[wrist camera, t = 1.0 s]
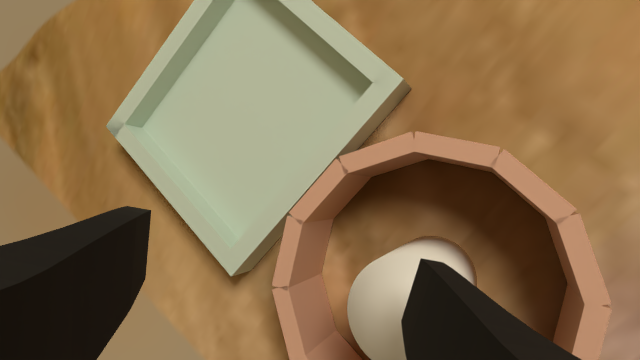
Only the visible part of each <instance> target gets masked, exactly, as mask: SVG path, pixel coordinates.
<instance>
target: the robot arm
mask: <svg viewBox="0 0 640 360" xmlns="http://www.w3.org/2000/svg"><path fill="white" fill-rule="evenodd" d="M150 217H151V210H146V209H141V208H135V207H129V206H126V207H121V208H117V209H114V210H111V211H108V212H105V213H102V214H100V215H97V216H94V217H91V218H88V219H86V220H83V221H80V222H77V223H74V224H72V225H69V226H66V227H63V228H60V229H56V230H53V231H50V232H47V233H44V234H41V235H37V236H34V237H31V238H28V239H24V240H21V241H17V242H13V243H9V244H6V245H2V246H0V360H97V358H98V357H99V355H100V354H101V352H102V351H103V349H104V348H105V346H106V345H107V343H108V342H109V340H110V339H111V337H112V336H113V335H114V333H115V332H116V330H117V329H118V327H119V326H120V324H121V323H122V321H123V320H124V318H125V317H126V315H127V314H128V312H129V311H130V309H131V307H132V305H133V303H134V301H135V299H136V297H137V295H138V293H139V291H140V289H141V287H142V284H143V282H144V280H145V276H146V264H147V252H148V241H149V229H150ZM401 325H402V334H403V342H404V348H405V355H406V359H407V360H582V359H580V358H578V357H576V356H575V355H573V354H571V353H569V352H568V351H566V350H564V349H563V348H561V347H559V346H558V345H556V344H555V343H553V342H551V341H550V340H548V339H547V338H545V337H543V336H542V335H540V334H539V333H537V332H536V331H534V330H533V329H531V328H530V327H528V326H527V325H526V324H524V323H523V322H521V321H520V320H519V319H517V318H516V317H514V316H513V315H512V314H510V313H509V312H508V311H506V310H505V309H504V308H502V307H501V306H500V305H498V304H497V303H496V302H495V301H493V300H492V299H491V298H489V297H488V296H487V295H486V294H484V293H483V292H482V291H481V290H479V289H478V288H477V287H476V286H474V285H473V284H472V283H471V282H469V281H468V280H467V279H466V278H464V277H463V276H462V275H461V274H459V273H458V272H457V271H455V270H454V269H453V268H451V267H450V266H448V265H447V264H445V263H443V262H439V261H433V260H428V259H422V258H421V259H420V262H419V265H418V269H417V272H416V275H415V278H414V281H413V285H412V288H411V291H410V294H409V297H408V301H407V304H406V307H405V310H404V313H403V317H402V320H401Z"/></svg>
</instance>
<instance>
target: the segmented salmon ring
mask: <svg viewBox="0 0 640 360" xmlns="http://www.w3.org/2000/svg"><path fill="white" fill-rule="evenodd" d="M339 158H340V160H339V159H335V160H334V161H333V163H332V164H331V165H330V166H329V167H328V168H327V169H326V171H325V172H324V173H323V174H322V175H321V176H320V177H319V179H318V180H317V181H316V182H315V183H314V184H313V185H312V187H311V188H310V189H309V190H308V191H307V192H306V193H305V195H304V196H303V197H302V198H301V199H300V200H299V202H298V203H297V204H296V205H295V206H294V207H293V208H292V210H291V211H290V212H289V213H290V214H291V216H287V219H286V224H285V228H284V233H283V237H282V242H281V246H280V251H279V255H278V260H277V264H276V269H275V273H274V278H273V282H272V286H275V287H276V288H274V289H272V292H273V296H274V300H275V304H276V308H277V312H278V316H279V320H280V324H281V327H282V331H283V335H284V339H285V343H286V347H287V351H288V355H289V359H290V360H362V358H361V357H360V356H359V355H358V354H357V353H356V352H355V350H354V349H353V348H352V347H351V346H350V345H349V344H348V343H347V341H346V340H345V339H344V338H343V337H342V336H341V335H340V333H339V332H338V331H337V330H336V327H335V323H334V319H333V316H332V312H331V308H330V304H329V301H328V297H327V293H326V290H325V286H324V282H323V278H322V275H321V272H322V268H323V263H324V259H325V254H326V250H327V246H328V241H329V237H330V232H331V228H332V224H333V219H334V218H335V217H336V216H337V215H338V213H339V212H340V211H341V210H342V209H343V208H344V207H345V206H346V205H347V204H348V202H349V201H350V200H351V199H352V198H353V197H354V196H355V195H356V194H357V193H358V191H359V190H360V189H361V188H362V187H363V186H364V185H365V184H366V183H367V182H368V180H369V179H370V178H371V177H373V176H377V175H380V174H383V173H386V172H389V171H392V170H395V169H399V168H402V167H405V166H408V165H411V164H414V163H417V162H421V161H424V160H427V159H431V160H436V161H441V162H446V163H450V164H455V165H460V166H465V167H470V168H475V169H479V170H484V171H489V172H493V173H494V174H495V175H496V176H497V177H499V178H500V179H501V180H502V181H503V182H504V183H506V184H507V185H508V186H509V187H510V188H511V189H512V190H514V191H515V192H516V193H517V194H518V195H519V196H521V197H522V198H523V199H524V200H525V201H526V202H528V203H529V204H530V205H531V206H532V207H533V208H535V209H536V210H537V211H538V212H539V213H540V214H542V215H543V216H544V217H545V219H546V222H547V225H548V228H549V230H550V233H551V236H552V239H553V242H554V245H555V248H556V251H557V254H558V257H559V260H560V263H561V266H562V268H563V271H564V274H565V277H566V280H567V283H568V285H567V289H566V292H565V296H564V300H563V304H562V308H561V312H560V316H559V320H558V323H557V327H556V331H555V335H554V339H553V343H555V344H556V345H558V346H559V347H561V348H563V349H564V350H566V351H568V352H569V353H571V354H573V355H575V356H576V357H578V358H580V359H582V360H599V356H600V352H601V348H602V345H603V341H604V337H605V333H606V329H607V326H608V322H609V318H610V314H611V310H612V309H611V308H610V307H609V306H608V304H611V301H610V298H609V295H608V292H607V289H606V287H605V284H604V281H603V278H602V275H601V272H600V270H599V267H598V264H597V261H596V258H595V255H594V253H593V250H592V247H591V244H590V241H589V238H588V236H587V233H586V230H585V227H584V224H583V221H582V219H581V216H580V213H576V212H574V211H575V210H576V208H575V207H573V206H572V205H571V204H570V203H569V202H567V201H566V200H565V199H564V198H563V197H561V196H560V195H559V194H558V193H557V192H555V191H554V190H553V189H552V188H551V187H549V186H548V185H547V184H546V183H545V182H543V181H542V180H541V179H540V178H539V177H537V176H536V175H535V174H534V173H533V172H531V171H530V170H529V169H528V168H527V167H525V166H524V165H523V164H522V163H521V162H519V161H518V160H517V159H516V158H515V157H513V156H512V155H511V154H510V153H509V152H507V151H506V150H505V149H504V150H503V151H502V152H501V153H500V147H498V146H492V145H487V144H481V143H476V142H471V141H465V140H460V139H455V138H449V137H444V136H439V135H433V134H428V133H423V132H417V131H416V133H415V134H414V133H413V132H409V133H406V134H403V135H400V136H397V137H394V138H392V139H389V140H386V141H383V142H380V143H377V144H374V145H371V146H368V147H365V148H362V149H360V150H357V151H354V152H351V153H348V154H345V155H342V156H339Z"/></svg>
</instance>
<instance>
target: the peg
mask: <svg viewBox="0 0 640 360" xmlns="http://www.w3.org/2000/svg"><path fill="white" fill-rule="evenodd" d="M421 258H422V259H428V260H433V261H439V262H443V263H445V264H447V265H448V266H450V267H451V268H453V269H454V270H455V271H457V272H458V273H459V274H461V275H462V276H463V277H464V278H466V279H467V280H468V281H469V282H471V283H472V284H473V285H474V286H476V287H477V276H476V271H475V267H474V265H473V262H472V261H471V259H470V257H469V256H468V254H467V253H466V252H465V251H464V250H463V249H462V248H461V247H460V246H459V245H457V244H456V243H454V242H452V241H450V240H448V239H446V238H443V237H438V236H424V237H419V238H416V239H414V240H412V241H410V242H408V243H406V244H404V245H403V246H401V247H399V248H397V249H395V250H393V251H391V252H390V253H388V254H386V255H384V256H382V257H380V258H378V259H377V260H375V261H373V262H372V263H370V264H369V265H367V266H366V267H365V268H364V269H363V270H362V271H361V272H360V273H359V275H358V276H357V277H356V279H355V281H354V282H353V285H352V287H351V290H350V293H349V297H348V305H347V312H348V320H349V325H350V328H351V331H352V334H353V336H354V338H355V340H356V342H357V343H358V345H359V347H360V348H361V349H362V350H363V352H364V353H365V354H366V355H367V356H368V357H369V358H370V359H371V360H407V359H406V355H405V348H404V342H403V334H402V325H401V320H402V317H403V313H404V310H405V307H406V304H407V301H408V297H409V294H410V291H411V288H412V285H413V281H414V278H415V275H416V272H417V269H418V265H419V262H420V259H421Z"/></svg>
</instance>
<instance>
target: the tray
mask: <svg viewBox="0 0 640 360" xmlns="http://www.w3.org/2000/svg"><path fill="white" fill-rule="evenodd" d="M410 90H411V87H410V86H409V85H408V84H407V82H406V81H405V80H404V79H403V78H402V77H401V76H400V75H398V74H397V73H396V72H395V71H394V70H393V69H391V68H390V67H389V66H388V65H387V64H385V63H384V62H383V61H382V60H381V59H380V58H378V57H377V56H376V55H375V54H374V53H372V52H371V51H370V50H369V49H368V48H367V47H365V46H364V45H363V44H362V43H361V42H359V41H358V40H357V39H356V38H355V37H353V36H352V35H351V34H350V33H349V32H348V31H346V30H345V29H344V28H343V27H342V26H340V25H339V24H338V23H337V22H336V21H335V20H333V19H332V18H331V17H330V16H329V15H327V14H326V13H325V12H324V11H323V10H322V9H320V8H319V7H318V6H317V5H316V4H314V3H313V2H312V1H311V0H194V2H193V3H192V4H191V6H190V7H189V9H188V10H187V11H186V13H185V14H184V16H183V17H182V19H181V20H180V21H179V23H178V24H177V26H176V27H175V29H174V30H173V31H172V33H171V34H170V36H169V37H168V39H167V40H166V41H165V43H164V44H163V46H162V47H161V49H160V50H159V51H158V53H157V54H156V56H155V57H154V59H153V60H152V61H151V63H150V64H149V66H148V67H147V68H146V70H145V71H144V73H143V74H142V76H141V77H140V78H139V80H138V81H137V83H136V84H135V86H134V87H133V88H132V90H131V91H130V93H129V94H128V96H127V97H126V98H125V100H124V101H123V103H122V104H121V106H120V107H119V108H118V110H117V111H116V113H115V114H114V116H113V117H112V118H111V120H110V121H109V123H108V124H107V125H106V127H107V128H108V129H109V130H110V132H111V133H112V134H113V135H114V136H115V138H116V139H117V140H118V141H119V142H120V144H121V145H122V146H123V147H124V149H125V150H126V151H127V152H128V153H129V155H130V156H131V157H132V158H133V159H134V161H135V162H136V163H137V164H138V165H139V167H140V168H141V169H142V170H143V171H144V173H145V174H146V175H147V176H148V177H149V179H150V180H151V181H152V182H153V183H154V185H155V186H156V187H157V188H158V189H159V191H160V192H161V193H162V194H163V195H164V197H165V198H166V199H167V200H168V201H169V203H170V204H171V205H172V206H173V207H174V209H175V210H176V211H177V212H178V213H179V215H180V216H181V217H182V218H183V219H184V221H185V222H186V223H187V224H188V225H189V227H190V228H191V229H192V230H193V231H194V233H195V234H196V235H197V236H198V237H199V239H200V240H201V241H202V242H203V243H204V245H205V246H206V247H207V248H208V249H209V251H210V252H211V253H212V254H213V255H214V257H215V258H216V259H217V260H218V261H219V263H220V264H221V265H222V266H223V267H224V269H225V270H226V271H227V272H228V273H229V275H230V276H235V275H238V274H241V273H244V272H248V271H251V270H252V269H253V268H254V266H255V265H256V264H257V263H258V262H259V261H260V260H261V258H262V257H263V256H264V255H265V254H266V253H267V252H268V251H269V249H270V248H271V247H272V246H273V245H274V244H275V243H276V241H277V240H278V239H279V238H280V237H281V236H282V235H283V233H284V228H285V224H286V219H287V216H291V214H290V213H289V212H290V211H291V210H292V208H293V207H294V206H295V205H296V204H297V203H298V202H299V200H300V199H301V198H302V197H303V196H304V195H305V193H306V192H307V191H308V190H309V189H310V188H311V187H312V185H313V184H314V183H315V182H316V181H317V180H318V179H319V177H320V176H321V175H322V174H323V173H324V172H325V171H326V169H327V168H328V167H329V166H330V165H331V164H332V163H333V161H334V160H335V159H339V160H340V158H339V156H342V155H345V154H348V153H351V152H354V151H357V150H358V149H359V148H360V146H361V145H362V144H363V143H364V142H365V141H366V140H367V138H368V137H369V136H370V135H371V134H372V133H373V132H374V131H375V129H376V128H377V127H378V126H379V125H380V124H381V123H382V122H383V120H384V119H385V118H386V117H387V116H388V115H389V114H390V112H391V111H392V110H393V109H394V108H395V107H396V106H397V105H398V103H399V102H400V101H401V100H402V99H403V98H404V97H405V95H406V94H407V93H408V92H409V91H410Z"/></svg>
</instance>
